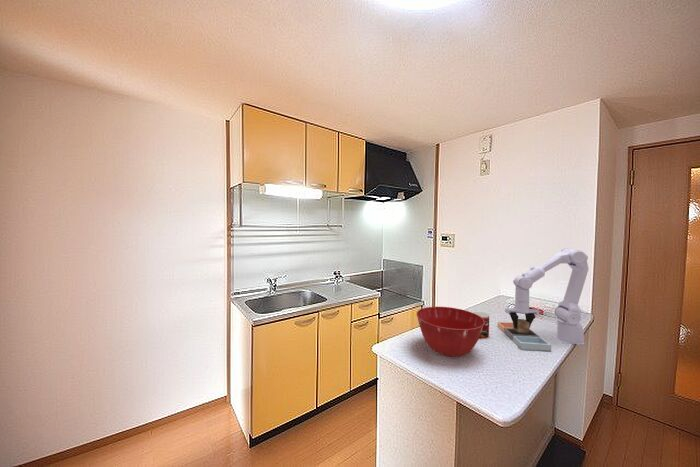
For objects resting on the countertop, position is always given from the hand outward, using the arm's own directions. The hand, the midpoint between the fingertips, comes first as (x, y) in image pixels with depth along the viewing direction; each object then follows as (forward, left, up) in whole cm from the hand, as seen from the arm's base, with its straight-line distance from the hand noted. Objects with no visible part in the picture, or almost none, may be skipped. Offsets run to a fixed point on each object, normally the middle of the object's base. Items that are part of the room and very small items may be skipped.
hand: (521, 327), depth 130 cm
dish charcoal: (0, 0, -5) cm, 5 cm away
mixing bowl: (+38, +18, -5) cm, 42 cm away
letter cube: (0, 0, -2) cm, 2 cm away
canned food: (+19, 0, -5) cm, 20 cm away
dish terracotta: (0, -9, -5) cm, 10 cm away
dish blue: (0, +9, -5) cm, 10 cm away
